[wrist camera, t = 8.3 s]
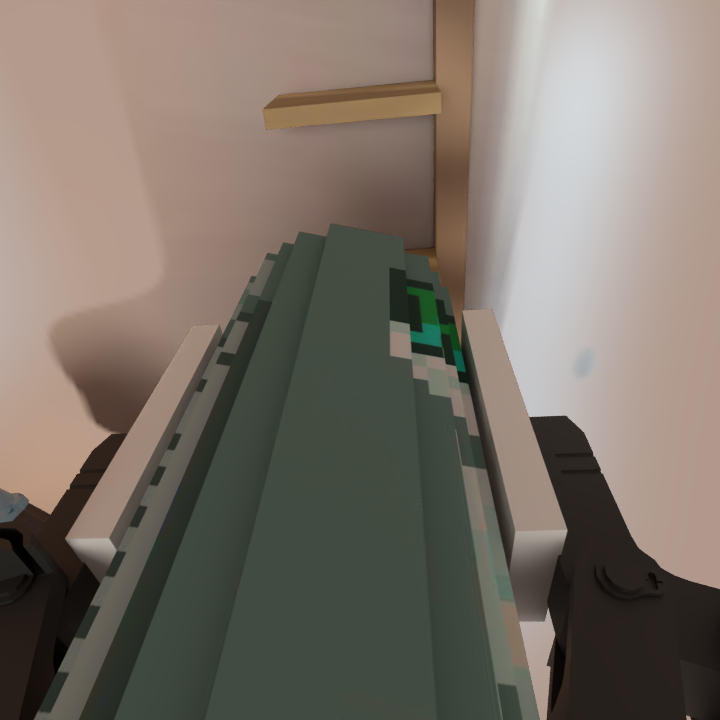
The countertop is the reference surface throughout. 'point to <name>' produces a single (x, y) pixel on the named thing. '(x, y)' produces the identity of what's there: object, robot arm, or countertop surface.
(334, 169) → the countertop surface
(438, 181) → the notch rack
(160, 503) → the can
